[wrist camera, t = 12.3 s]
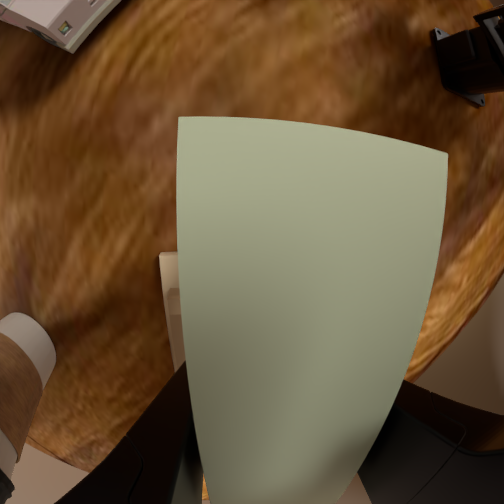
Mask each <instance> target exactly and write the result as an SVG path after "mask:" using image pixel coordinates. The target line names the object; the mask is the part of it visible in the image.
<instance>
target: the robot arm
mask: <svg viewBox="0 0 504 504" xmlns="http://www.w3.org/2000/svg"><path fill="white" fill-rule="evenodd" d="M498 16H499V17H500V20H499V18H498ZM473 18H474V19H475V21H476V22H478V24H479V25H480V26H479V27H476V28H473V29H470V30H463V31H461V32H458V33H455V34H452V35H449V34H447V33H446V32H444V31H442V30H440V29H438V28H435V29H433V35H434V40H435V44H436V49H437V54H438V59H439V65H440V71H441V78H442V84H443V86H444V88H445V89H446V90H449V91H451V92H453V93H455V94H457V95H459V96H461V97H463V98H465V99H467V100H469V101H471V102H473V103H475V104H477V105H478V106H480V107H482V106H485V99H484V94H486V93H493V92H502V91H504V4H503V5H500V6H497V7H494V8H491V9H488V10H486V11H483V12H481V13H479V14H477V15H475V16H473ZM357 473H358V475H359V477H360V479H361V481H362V483H363V485H364V488H365V490H366V492H367V494H368V496H369V498H370V501H371V503H372V504H504V415H499V414H496V413H492V412H489V411H485V410H482V409H478V408H475V407H471V406H468V405H465V404H462V403H459V402H456V401H453V400H451V399H448V398H445V397H443V396H440V395H438V394H436V393H433V392H431V393H430V391H429V390H426V389H424V388H422V387H419V386H417V385H415V384H413V383H410V382H408V381H406V380H404V379H403V381H402V384H401V386H400V389H399V391H398V393H397V396H396V398H395V400H394V403H393V405H392V407H391V409H390V411H389V414H388V416H387V418H386V420H385V422H384V424H383V426H382V428H381V430H380V432H379V434H378V436H377V438H376V440H375V441H374V443H373V445H372V447H371V449H370V451H369V452H368V454H367V456H366V458H365V459H364V461H363V463H362V465H361V466H360V468H359V470H358V471H357ZM202 486H203V468H202V463H201V458H200V452H199V447H198V442H197V436H196V430H195V424H194V418H193V411H192V405H191V398H190V390H189V383H188V375H187V367H186V360H185V361H184V362H183V363H182V365H181V366H180V367H179V369H178V370H177V371H176V372H175V374H174V375H173V376H172V377H171V379H170V380H169V381H168V382H167V384H166V385H165V386H164V387H163V389H162V390H161V391H160V392H159V394H158V395H157V396H156V397H155V399H154V400H153V401H152V402H151V404H150V405H149V406H148V407H147V409H146V410H145V411H144V412H143V414H142V415H141V416H140V417H139V419H138V420H137V421H136V422H135V424H134V425H133V426H132V427H131V429H130V430H129V431H128V432H127V433H126V436H124V437H123V438H122V439H121V441H120V442H119V443H118V444H117V445H116V447H115V448H114V449H113V450H112V451H111V452H110V453H109V455H108V456H107V457H106V458H105V459H104V460H103V461H102V462H101V463H100V464H99V465H98V466H97V467H96V468H95V469H94V470H93V471H92V472H90V473H89V474H88V475H87V476H86V477H85V478H84V479H83V480H82V481H80V482H79V483H78V484H77V485H76V486H75V487H73V488H72V489H71V490H70V491H69V492H68V493H66V494H65V495H64V496H63V497H62V498H61V499H59V500H58V501H57V502H56V503H54V504H202Z"/></svg>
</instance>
